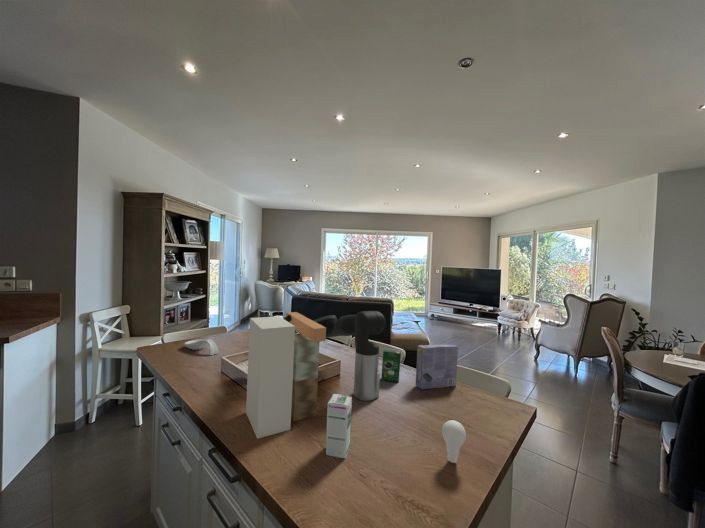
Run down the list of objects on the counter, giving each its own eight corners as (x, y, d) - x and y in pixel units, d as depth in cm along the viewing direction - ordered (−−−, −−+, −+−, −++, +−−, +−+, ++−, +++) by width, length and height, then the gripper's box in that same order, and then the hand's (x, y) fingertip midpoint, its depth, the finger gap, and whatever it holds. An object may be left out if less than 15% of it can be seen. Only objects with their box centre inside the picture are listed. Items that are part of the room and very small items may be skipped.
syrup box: (346, 459, 78) (348, 405, 78) (324, 455, 79) (327, 402, 79) (350, 446, 83) (352, 395, 83) (330, 442, 85) (332, 392, 84)
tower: (307, 404, 106) (310, 333, 105) (316, 415, 99) (319, 338, 98) (285, 409, 101) (288, 335, 101) (293, 421, 95) (296, 341, 94)
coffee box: (399, 380, 132) (401, 351, 131) (399, 382, 129) (400, 353, 129) (381, 377, 133) (383, 349, 133) (381, 380, 130) (382, 351, 130)
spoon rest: (179, 348, 161) (180, 335, 161) (200, 344, 171) (201, 331, 171) (204, 358, 148) (204, 344, 148) (225, 352, 158) (225, 339, 158)
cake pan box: (451, 381, 133) (453, 342, 132) (458, 386, 128) (461, 346, 128) (414, 385, 127) (416, 345, 126) (420, 390, 122) (422, 348, 122)
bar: (285, 323, 110) (286, 312, 110) (296, 322, 112) (296, 312, 112) (313, 342, 88) (314, 328, 88) (325, 340, 90) (326, 327, 90)
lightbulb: (436, 454, 81) (439, 415, 81) (458, 454, 82) (460, 415, 82) (445, 470, 75) (448, 428, 75) (468, 470, 76) (470, 428, 76)
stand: (275, 406, 104) (279, 316, 103) (290, 429, 90) (295, 326, 89) (245, 412, 98) (249, 318, 98) (257, 438, 85) (261, 328, 84)
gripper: (264, 322, 117) (276, 307, 104) (298, 320, 124) (312, 306, 112) (266, 341, 114) (278, 328, 101) (300, 337, 121) (316, 325, 108)
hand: (296, 316), depth 106 cm, fingers closed on bar, 4 cm apart
